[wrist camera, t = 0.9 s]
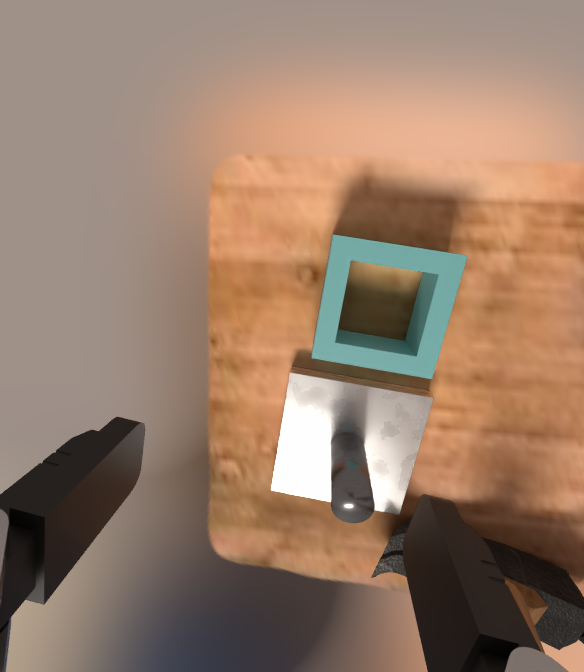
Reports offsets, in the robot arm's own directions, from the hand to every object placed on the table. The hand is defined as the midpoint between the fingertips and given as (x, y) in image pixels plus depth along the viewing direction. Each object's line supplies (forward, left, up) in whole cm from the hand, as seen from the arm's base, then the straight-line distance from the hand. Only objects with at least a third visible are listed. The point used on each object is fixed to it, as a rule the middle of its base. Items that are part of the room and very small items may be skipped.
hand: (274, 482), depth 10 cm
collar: (-5, -2, -21) cm, 21 cm away
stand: (-5, +11, -21) cm, 24 cm away
